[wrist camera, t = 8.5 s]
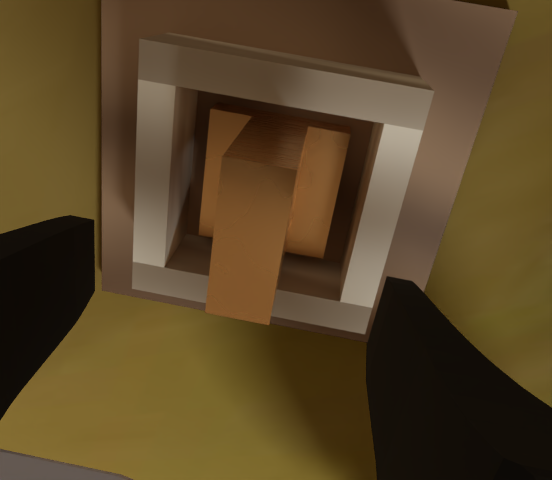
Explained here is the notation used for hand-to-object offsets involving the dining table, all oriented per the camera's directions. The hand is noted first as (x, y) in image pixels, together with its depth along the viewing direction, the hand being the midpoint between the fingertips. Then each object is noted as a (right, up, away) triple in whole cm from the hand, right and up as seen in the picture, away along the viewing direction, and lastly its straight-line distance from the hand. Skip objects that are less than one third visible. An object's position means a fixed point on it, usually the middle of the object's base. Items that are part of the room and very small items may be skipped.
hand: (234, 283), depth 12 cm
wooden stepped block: (+1, +4, +8) cm, 8 cm away
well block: (+1, +4, +8) cm, 9 cm away
